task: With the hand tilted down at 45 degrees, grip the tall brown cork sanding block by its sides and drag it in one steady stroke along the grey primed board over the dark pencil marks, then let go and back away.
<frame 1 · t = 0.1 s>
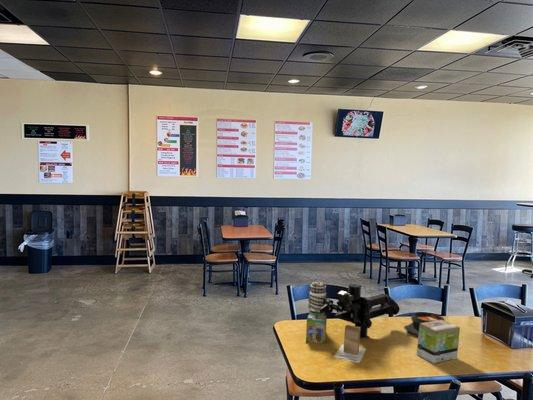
hand: (327, 313, 180), 17 cm above the table, tool horizontal, fingers open, 9 cm apart
chalk box: (315, 341, 190), on the table
casserole: (427, 332, 208), on the table
sanding block: (351, 351, 178), point 1 cm above the table, touching board
leaning tower model: (315, 332, 202), on the table
board: (350, 355, 176), on the table
tea box: (436, 357, 179), on the table
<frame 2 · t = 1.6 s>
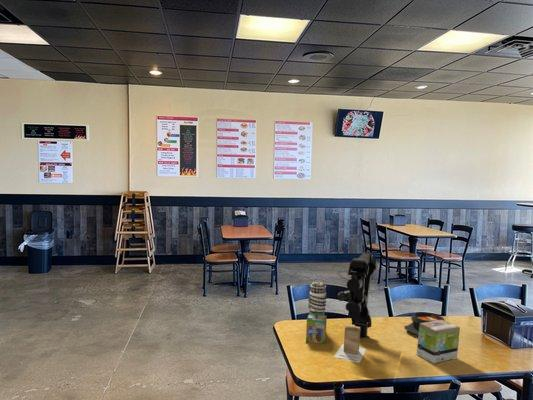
hand: (355, 320, 183), 13 cm above the table, tool pointing down, fingers open, 9 cm apart
nothing on the table moved.
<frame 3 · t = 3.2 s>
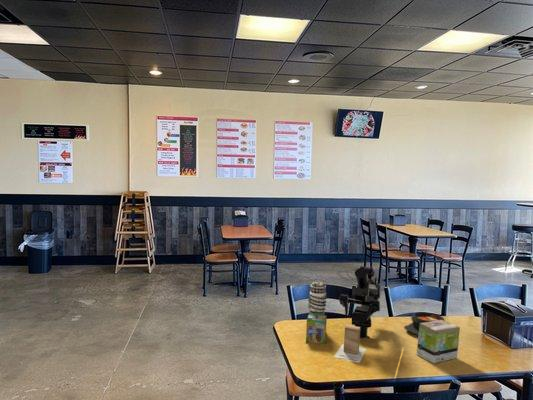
hand: (356, 318, 184), 13 cm above the table, tool tilted 45°, fingers open, 9 cm apart
nothing on the table moved.
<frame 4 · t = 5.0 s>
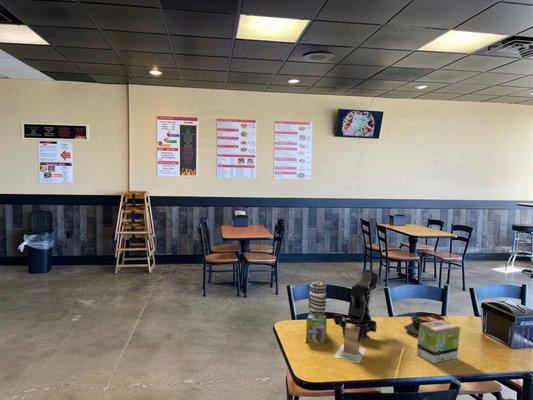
hand: (351, 340, 176), 7 cm above the table, tool tilted 45°, fingers closed on sanding block, 6 cm apart
sanding block: (351, 351, 178), point 1 cm above the table, touching board, gripper
everything else where it was.
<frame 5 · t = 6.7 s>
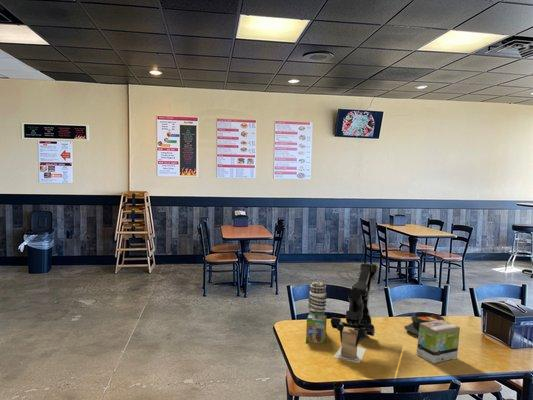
hand: (348, 344, 171), 7 cm above the table, tool tilted 45°, fingers closed on sanding block, 6 cm apart
sanding block: (348, 355, 173), point 1 cm above the table, touching gripper
everything else where it was.
when the fingers open (7 cm above the table, at t = 8.3 s): sanding block stays where it is, resting on board.
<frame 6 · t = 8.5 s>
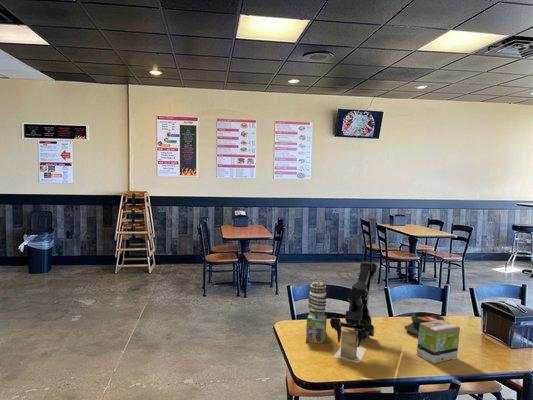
hand: (348, 345, 171), 7 cm above the table, tool tilted 45°, fingers open, 8 cm apart
sanding block: (348, 356, 173), point 1 cm above the table, touching board
everything else where it was.
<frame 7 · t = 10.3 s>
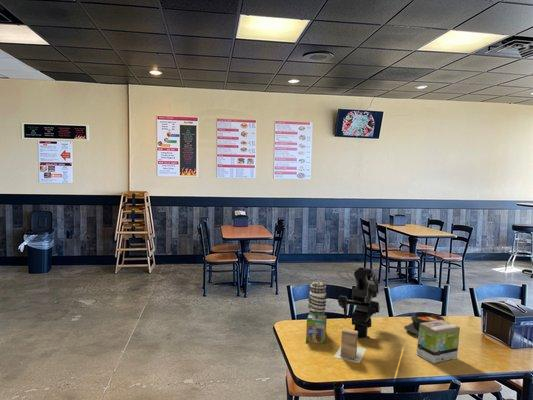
hand: (355, 320, 181), 14 cm above the table, tool tilted 45°, fingers open, 9 cm apart
nothing on the table moved.
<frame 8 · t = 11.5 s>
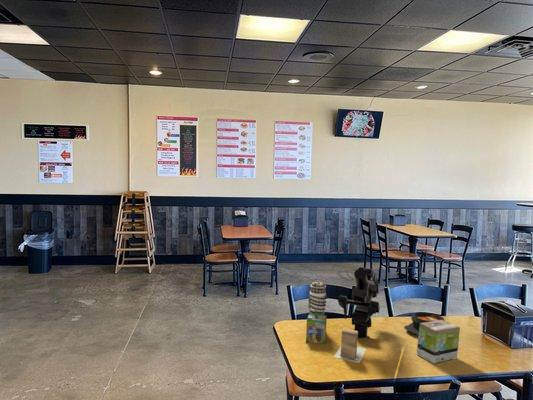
hand: (355, 320, 181), 14 cm above the table, tool tilted 45°, fingers open, 9 cm apart
nothing on the table moved.
at the end: sanding block moved 5.4 cm from its start; sanding block tilted 0°; sanding block 1.2 cm from the target spot on the board, point 1.0 cm above the board's base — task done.
